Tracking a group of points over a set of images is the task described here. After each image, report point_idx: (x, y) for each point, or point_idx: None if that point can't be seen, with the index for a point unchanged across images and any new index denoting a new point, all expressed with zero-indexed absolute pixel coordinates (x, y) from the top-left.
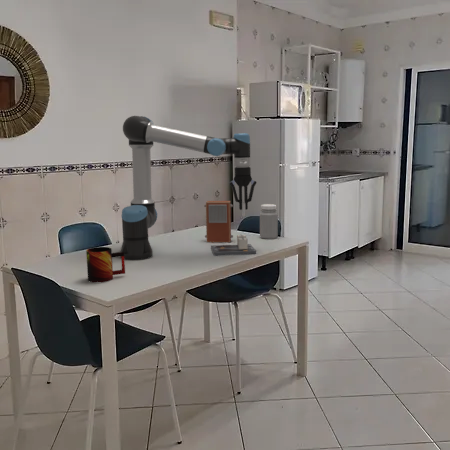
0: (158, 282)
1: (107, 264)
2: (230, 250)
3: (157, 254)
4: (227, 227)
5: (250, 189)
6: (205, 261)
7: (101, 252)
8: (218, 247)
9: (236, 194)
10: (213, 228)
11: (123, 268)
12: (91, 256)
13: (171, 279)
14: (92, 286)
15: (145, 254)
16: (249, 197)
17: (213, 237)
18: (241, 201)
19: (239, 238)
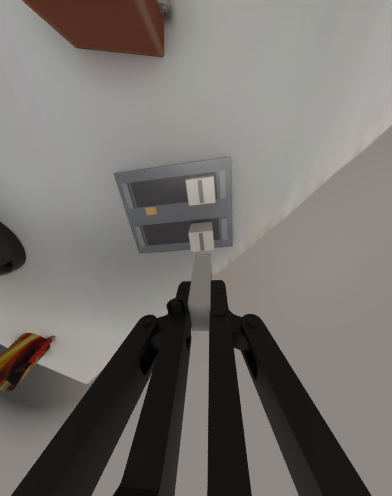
0: (104, 356)
1: (31, 368)
2: (173, 241)
3: (20, 228)
4: (129, 5)
5: (306, 472)
6: (134, 286)
7: (11, 389)
8: (140, 205)
9: (133, 404)
10: (57, 3)
11: (46, 346)
12: (5, 382)
13: (114, 350)
14: (46, 358)
15: (14, 268)
16: (249, 371)
17: (88, 37)
18: (186, 341)
19: (192, 238)
